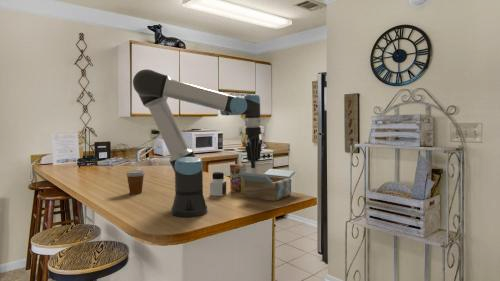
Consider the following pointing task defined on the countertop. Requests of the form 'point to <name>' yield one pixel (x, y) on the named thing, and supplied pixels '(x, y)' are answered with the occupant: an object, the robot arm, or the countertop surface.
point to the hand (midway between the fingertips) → (254, 174)
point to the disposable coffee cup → (135, 181)
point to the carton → (268, 189)
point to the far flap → (280, 173)
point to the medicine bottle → (218, 184)
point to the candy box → (237, 178)
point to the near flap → (255, 177)
